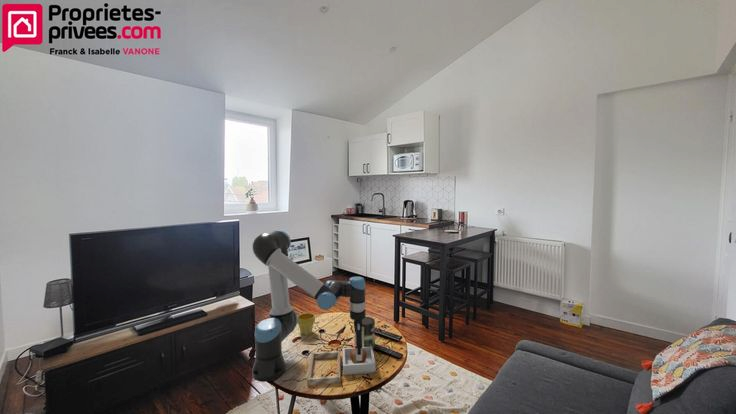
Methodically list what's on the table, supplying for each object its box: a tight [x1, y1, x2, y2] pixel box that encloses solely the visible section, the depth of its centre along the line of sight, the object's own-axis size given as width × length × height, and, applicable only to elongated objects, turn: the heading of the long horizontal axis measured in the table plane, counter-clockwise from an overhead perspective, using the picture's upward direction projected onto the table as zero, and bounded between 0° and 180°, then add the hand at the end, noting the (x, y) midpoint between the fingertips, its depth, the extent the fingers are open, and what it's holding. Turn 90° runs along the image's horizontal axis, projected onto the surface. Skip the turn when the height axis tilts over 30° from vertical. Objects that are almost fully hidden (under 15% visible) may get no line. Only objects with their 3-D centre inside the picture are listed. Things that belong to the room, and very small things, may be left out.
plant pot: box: [297, 312, 316, 336], centre depth 177 cm, size 10×10×10 cm
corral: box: [306, 350, 341, 386], centre depth 141 cm, size 14×21×2 cm
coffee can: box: [362, 316, 376, 350], centre depth 161 cm, size 10×10×14 cm
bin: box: [342, 346, 377, 376], centre depth 144 cm, size 15×15×4 cm
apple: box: [350, 347, 367, 364], centre depth 144 cm, size 8×8×8 cm
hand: (358, 352), depth 144 cm, fingers open, 13 cm apart
